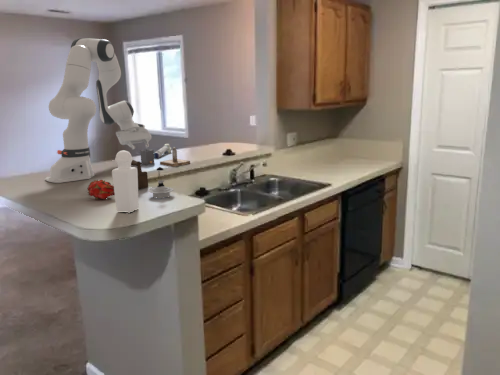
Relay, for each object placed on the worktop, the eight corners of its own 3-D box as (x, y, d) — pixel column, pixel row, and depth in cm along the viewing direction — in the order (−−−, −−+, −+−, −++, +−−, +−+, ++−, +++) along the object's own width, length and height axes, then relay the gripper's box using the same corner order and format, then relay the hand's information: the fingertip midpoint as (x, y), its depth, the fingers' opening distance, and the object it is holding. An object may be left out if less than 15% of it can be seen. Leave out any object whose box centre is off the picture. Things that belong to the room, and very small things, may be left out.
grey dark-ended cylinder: (151, 152, 265) (164, 141, 288) (152, 162, 268) (165, 151, 291) (159, 152, 264) (171, 141, 287) (160, 163, 267) (172, 151, 290)
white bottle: (125, 208, 160) (120, 148, 155) (140, 209, 158) (136, 149, 153) (114, 213, 154) (109, 151, 148) (131, 214, 152) (126, 152, 147)
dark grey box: (147, 165, 243) (146, 151, 241) (140, 164, 247) (139, 150, 245) (155, 164, 247) (154, 150, 245) (148, 162, 251) (147, 149, 249)
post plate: (173, 166, 239) (172, 149, 236) (160, 164, 246) (159, 147, 244) (190, 163, 247) (189, 147, 245) (176, 161, 255) (175, 145, 253)
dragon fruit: (87, 201, 175) (116, 206, 174) (80, 194, 167) (111, 198, 167) (93, 182, 178) (122, 186, 178) (86, 174, 170) (117, 178, 170)
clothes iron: (131, 182, 202) (128, 153, 199) (149, 187, 191) (147, 157, 187) (115, 185, 196) (112, 156, 193) (133, 191, 185) (130, 160, 182)
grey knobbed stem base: (161, 163, 180) (141, 167, 172) (177, 166, 173) (157, 170, 166) (163, 192, 182) (143, 197, 175) (179, 196, 176) (159, 201, 169)
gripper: (116, 127, 243) (127, 146, 239) (146, 124, 258) (157, 142, 254) (112, 134, 246) (123, 153, 243) (142, 131, 262) (153, 149, 258)
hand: (141, 147), depth 248 cm, fingers open, 8 cm apart
